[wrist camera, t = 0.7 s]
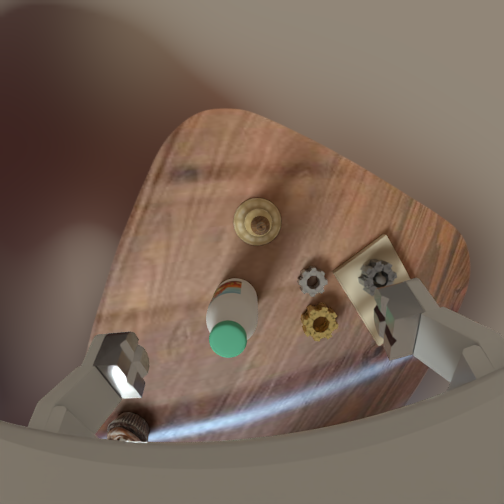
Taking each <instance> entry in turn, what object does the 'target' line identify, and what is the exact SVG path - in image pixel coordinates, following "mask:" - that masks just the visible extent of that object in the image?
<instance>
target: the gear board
mask: <svg viewBox="0 0 504 504" xmlns="http://www.w3.org/2000/svg"><path fill="white" fill-rule="evenodd" d="M371 259H377V260H379V261H381V260H383V261H386V262H388V263H390V264H391V265H392V268H391V269H392V271H394V272H396V273H397V278H396V279H394V281H393V283H394V284H396V283H400V282H403V281H407V280H410V277H409V276H408V274H407V272H406V270H405V268H404V266H403V264H402V262H401V260H400V259H399V257H398V255H397V253H396V251H395V249H394V248H393V246H392V244H391V242H390V240H389V239H388V237H387V235H384V234H383V235H381V236H380V237H379V238H377V239H376V240H375V241H373V242H372V243H371V244H369V245H368V246H367V247H365V248H364V249H363V250H361V251H360V252H359V253H357V254H356V255H354V256H353V257H352V258H350V259H349V260H348V261H346V262H345V263H343V264H342V265H341V266H339V267H338V268H336V269H335V270H334V271H332V272H333V274H334V275H335V277H336V279H337V280H338V282H339V283H340V285H341V286H342V288H343V290H344V291H345V293H346V294H347V296H348V298H349V299H350V301H351V302H352V304H353V306H354V307H355V309H356V310H357V312H358V314H359V315H360V317H361V319H362V320H363V322H364V324H365V325H366V327H367V329H368V330H369V332H370V334H371V335H372V337H373V339H374V340H375V342H376V343H377V345H378V346H380V345H381V344H383V341H384V339H383V338H382V337H380V336H379V335H378V333H377V330H376V327H375V323H374V308H375V307H376V305H377V303H376V301H375V299H374V296H371V295H370V294H368V293H367V292H366V291H364V290H363V288H364V286H363V285H361V284H360V283H359V281H358V277H361V275H362V273H361V272H362V271H361V270H360V268H361V267H362V265H365V266H366V265H368V263H370V260H371ZM377 283H379V284H381V285H383V284H385V283H386V278H385V277H384V276H382V274H381V271H379V272H376V274H375V276H374V277H373V284H377Z"/></svg>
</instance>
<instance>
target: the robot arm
mask: <svg viewBox="0 0 504 504" xmlns="http://www.w3.org/2000/svg"><path fill="white" fill-rule="evenodd" d="M374 299H375V301H376V303H377V305H376V307H375V308H374V323H375V327H376V330H377V333H378V335H379V336H380V337H382V338H383V339H384V341H383V347H384V349H385V351H386V354H387V356H388V358H389V360H393V359H397V358H401V357H405V356H408V355H412V354H413V356H415V357H416V358H417V359H419V360H420V361H421V362H423V363H424V364H425V365H427V366H428V367H430V368H431V369H432V370H434V371H435V372H437V373H438V374H439V375H441V376H442V377H443V378H445V379H446V380H447V381H449V382H450V384H449V387H448V389H447V391H446V392H444V393H442V394H439V395H437V396H434V397H431V398H428V399H425V400H422V401H420V402H417V403H414V404H411V405H408V406H404V407H401V408H398V409H395V410H392V411H388V412H385V413H381V414H378V415H374V416H370V417H366V418H363V419H359V420H355V421H350V422H346V423H342V424H337V425H333V426H328V427H323V428H318V429H313V430H307V431H301V432H295V433H289V434H282V435H275V436H267V437H259V438H250V439H239V440H226V441H209V442H137V441H120V440H108V439H99V438H98V437H97V436H96V435H94V434H95V433H96V432H97V431H98V429H99V428H100V427H101V426H102V424H103V423H104V422H105V421H106V419H107V418H108V417H109V415H110V414H111V413H112V412H113V410H114V409H115V408H116V407H117V405H118V404H119V403H120V402H121V400H122V398H142V395H143V391H144V387H145V381H144V379H143V378H144V377H145V376H146V375H147V373H148V370H149V358H148V355H147V352H146V351H145V349H144V348H143V347H142V346H140V345H138V340H139V339H138V337H137V336H136V334H135V333H134V332H120V333H108V334H98V335H96V336H95V337H94V339H93V341H92V343H91V345H90V347H89V350H88V352H87V354H86V356H85V358H84V361H83V363H82V365H81V367H77V368H76V369H75V370H74V371H73V372H71V373H70V374H69V375H68V376H67V377H66V378H65V379H64V380H62V381H61V382H60V383H59V384H58V385H57V386H56V387H55V388H53V389H52V390H51V391H50V392H49V393H48V394H47V395H46V396H45V397H43V398H42V399H41V400H40V401H39V402H38V403H37V406H36V408H35V410H34V413H33V415H32V418H31V420H30V423H29V425H28V427H24V426H20V425H15V424H11V423H7V422H3V421H0V504H504V338H503V337H502V335H501V334H500V333H499V332H497V331H494V330H492V329H490V328H488V327H486V326H484V325H482V324H480V323H477V322H475V321H473V320H471V319H469V318H467V317H464V316H463V315H460V314H458V313H456V312H454V311H452V310H450V309H447V308H445V307H441V308H440V307H439V306H438V304H437V303H436V302H435V300H434V299H433V297H432V296H431V294H430V293H429V292H428V290H427V289H426V288H425V286H424V285H423V283H422V282H421V281H420V279H418V278H414V279H410V280H407V281H403V282H400V283H396V284H392V285H388V286H384V287H380V288H376V289H375V292H374Z"/></svg>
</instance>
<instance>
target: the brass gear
mask: <svg viewBox="0 0 504 504" xmlns="http://www.w3.org/2000/svg"><path fill="white" fill-rule="evenodd" d="M306 308H307V309H308V310H307V313H306V312H305V314H302V315H301V321H302V323H303V326H302V328H303V330H304V333H305V334H306V335H307V337H308V336H309V335H311V337H313V339H314V341H320V338H321V339H322V338H323V337H324V338H325V337H326V338H327V339H329V338H330V337H332V335H331V333H332V331H334V329H337V328H338V323H337V322H336V320H335V318H336V317H337V315H336V314H335V312H334V311H333V310H332V308H331V307H330V308H327V306H326V305H325V304H324V303H320V302H319V304H318V305H316V307H315V306H313V307H312V305H311V304H310V305H309V306H307V307H306ZM319 316H321V317H326V319H325V323H324V324H322V325H321V326H319V327H317V326H313V322H314V320H315V319H316V318H318V317H319Z"/></svg>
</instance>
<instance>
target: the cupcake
mask: <svg viewBox="0 0 504 504" xmlns="http://www.w3.org/2000/svg"><path fill="white" fill-rule="evenodd" d="M107 430H108V431H107V432H108V435H107V439H108V440H120V441H137V442H148V435H149V426H148V424H147V422H146V421H145V420H144V419H143V418H142V417H141V416H139V415H137V414H135V413H131V412H124V413H122V414H121V415H119V416H118V417H117V418H116V419H115V420H114V421H112V422H111V423H110V424H109V425H108V429H107Z"/></svg>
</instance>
